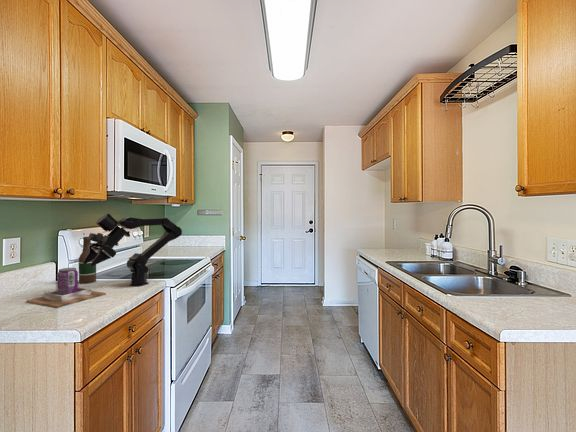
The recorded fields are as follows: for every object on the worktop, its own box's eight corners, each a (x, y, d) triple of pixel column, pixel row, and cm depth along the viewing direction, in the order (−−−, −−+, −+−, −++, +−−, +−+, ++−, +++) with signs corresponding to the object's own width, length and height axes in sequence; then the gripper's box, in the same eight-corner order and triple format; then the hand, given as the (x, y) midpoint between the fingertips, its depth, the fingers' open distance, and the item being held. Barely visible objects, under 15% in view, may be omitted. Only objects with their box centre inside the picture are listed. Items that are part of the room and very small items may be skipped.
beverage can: (80, 294, 133) (80, 267, 133) (74, 298, 126) (73, 270, 126) (62, 295, 131) (61, 267, 131) (54, 300, 124) (53, 271, 124)
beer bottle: (85, 284, 154) (84, 237, 153) (75, 283, 157) (74, 237, 156) (99, 281, 161) (99, 236, 161) (89, 280, 164) (89, 235, 163)
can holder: (76, 290, 143) (76, 283, 143) (105, 294, 135) (105, 287, 135) (26, 302, 124) (26, 295, 124) (57, 307, 117) (57, 300, 117)
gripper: (92, 226, 145) (65, 251, 136) (107, 227, 133) (79, 255, 125) (110, 241, 151) (85, 266, 143) (126, 243, 139) (100, 271, 131)
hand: (87, 264), depth 135 cm, fingers open, 9 cm apart
